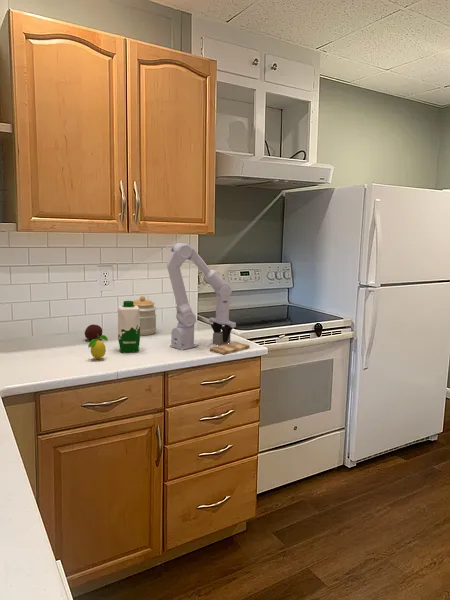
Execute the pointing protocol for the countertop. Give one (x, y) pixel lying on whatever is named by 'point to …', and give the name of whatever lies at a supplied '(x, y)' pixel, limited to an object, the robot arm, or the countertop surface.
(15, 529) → the countertop surface
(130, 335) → the milk carton
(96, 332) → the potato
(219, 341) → the sanding block
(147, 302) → the jar
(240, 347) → the board
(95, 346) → the lemon
